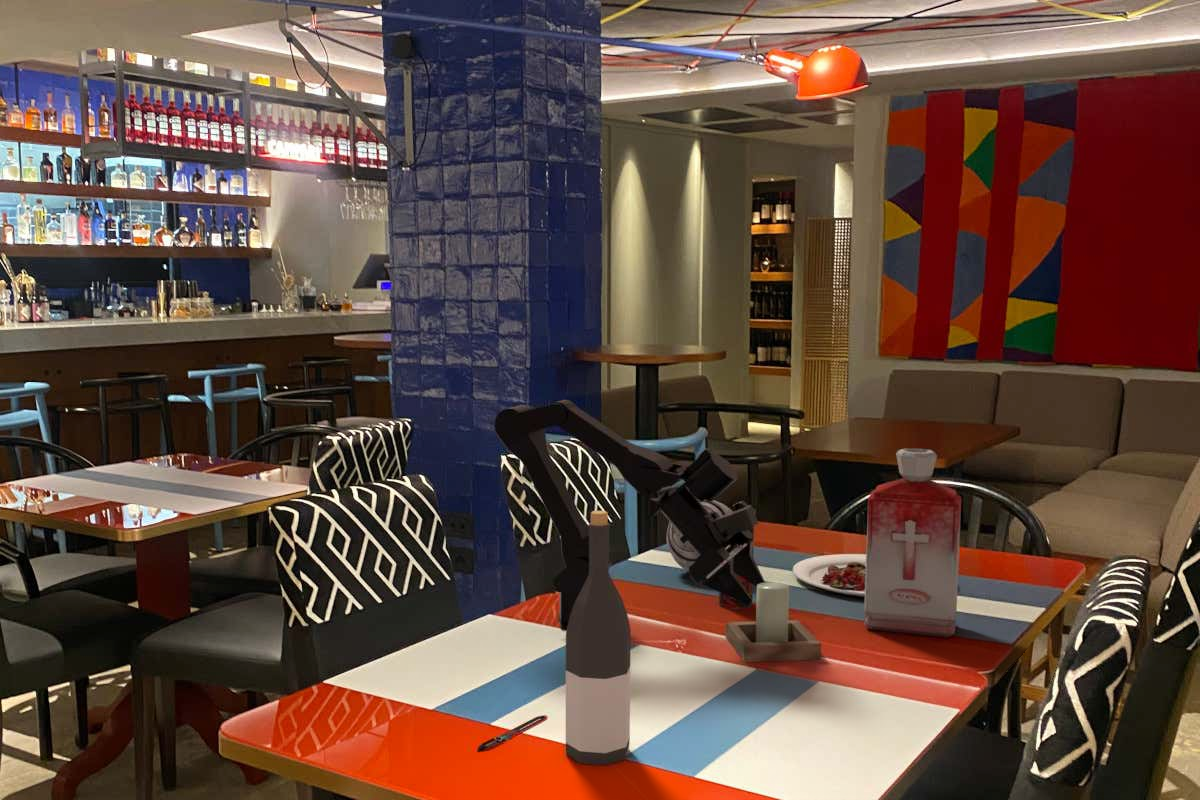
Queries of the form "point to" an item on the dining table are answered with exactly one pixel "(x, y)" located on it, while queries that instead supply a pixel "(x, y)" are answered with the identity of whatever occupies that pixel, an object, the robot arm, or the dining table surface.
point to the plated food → (834, 573)
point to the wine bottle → (598, 661)
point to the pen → (510, 733)
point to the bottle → (913, 551)
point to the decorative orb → (685, 551)
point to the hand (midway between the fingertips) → (757, 595)
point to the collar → (773, 643)
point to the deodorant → (735, 604)
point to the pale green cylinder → (772, 612)
